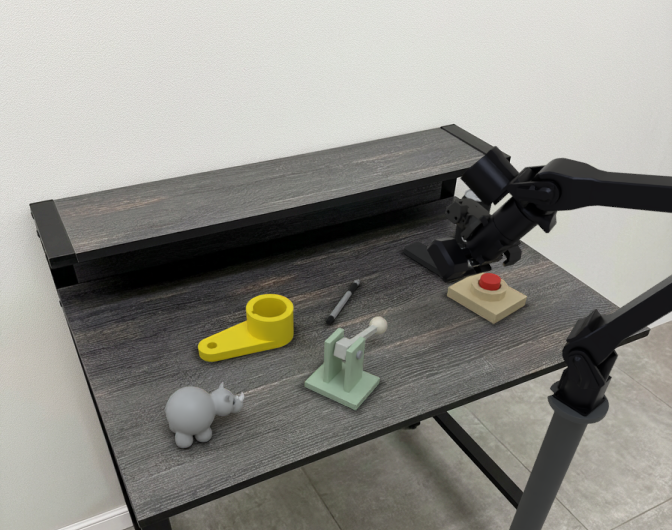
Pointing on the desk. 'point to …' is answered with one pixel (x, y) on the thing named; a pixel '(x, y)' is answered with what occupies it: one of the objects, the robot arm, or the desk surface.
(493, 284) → the button
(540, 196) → the robot arm
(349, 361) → the bracket
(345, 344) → the lever
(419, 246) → the remote control
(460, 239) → the beverage can
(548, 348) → the desk surface
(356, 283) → the pen
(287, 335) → the crank
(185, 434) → the round bodied animal figurine
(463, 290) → the button box
